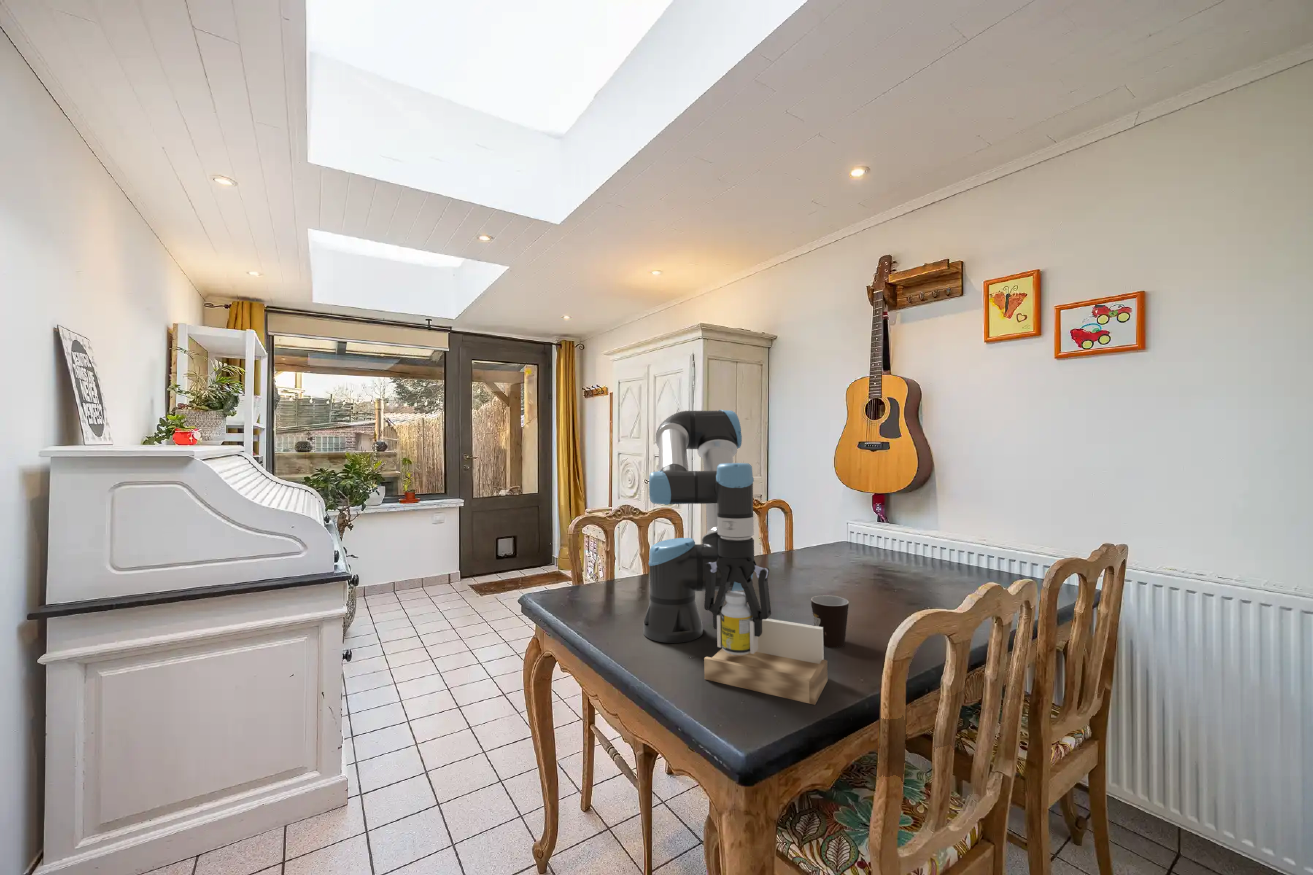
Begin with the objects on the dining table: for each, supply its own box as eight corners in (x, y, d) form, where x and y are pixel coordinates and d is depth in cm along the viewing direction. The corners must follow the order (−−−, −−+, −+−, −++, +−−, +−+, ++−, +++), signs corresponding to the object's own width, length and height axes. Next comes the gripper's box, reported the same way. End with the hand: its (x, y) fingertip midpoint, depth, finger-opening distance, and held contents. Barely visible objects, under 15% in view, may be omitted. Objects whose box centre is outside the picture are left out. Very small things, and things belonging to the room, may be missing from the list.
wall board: (725, 659, 114) (724, 613, 114) (727, 656, 115) (726, 611, 115) (822, 679, 103) (821, 629, 104) (824, 676, 105) (823, 627, 105)
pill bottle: (719, 645, 110) (718, 590, 110) (748, 643, 110) (747, 589, 111) (725, 657, 103) (724, 599, 103) (757, 655, 104) (756, 597, 104)
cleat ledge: (704, 679, 104) (704, 658, 104) (725, 659, 114) (724, 640, 114) (815, 704, 93) (814, 681, 93) (827, 680, 103) (827, 659, 103)
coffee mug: (852, 650, 118) (851, 606, 118) (813, 648, 119) (812, 604, 120) (844, 632, 129) (843, 592, 129) (808, 630, 131) (808, 591, 131)
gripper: (686, 536, 109) (687, 645, 108) (776, 543, 99) (778, 663, 99) (700, 531, 115) (702, 634, 115) (786, 537, 106) (789, 650, 105)
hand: (737, 647), depth 107 cm, fingers closed on pill bottle, 6 cm apart
